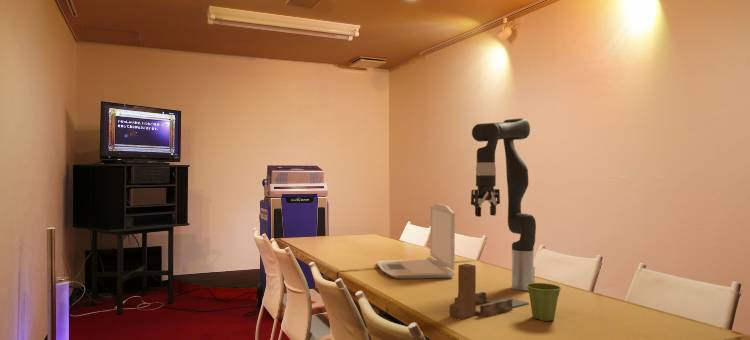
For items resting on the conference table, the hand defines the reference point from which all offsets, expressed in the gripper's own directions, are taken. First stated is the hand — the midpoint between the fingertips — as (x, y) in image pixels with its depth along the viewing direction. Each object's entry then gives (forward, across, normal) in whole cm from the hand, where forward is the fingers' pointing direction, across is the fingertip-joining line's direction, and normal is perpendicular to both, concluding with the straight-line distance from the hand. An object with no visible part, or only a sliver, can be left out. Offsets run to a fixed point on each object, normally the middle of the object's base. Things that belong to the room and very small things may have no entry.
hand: (485, 215), depth 194 cm
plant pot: (+34, -1, +25) cm, 43 cm away
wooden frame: (+34, +7, +5) cm, 35 cm away
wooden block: (+34, +20, +7) cm, 41 cm away
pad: (+34, -8, +5) cm, 35 cm away
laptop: (+35, -18, -65) cm, 76 cm away
